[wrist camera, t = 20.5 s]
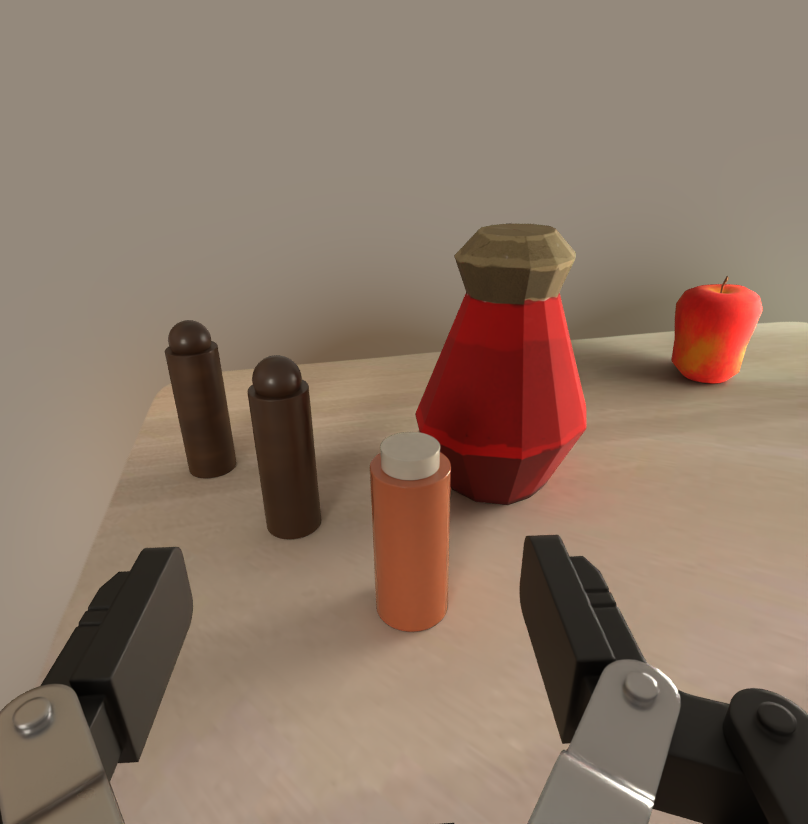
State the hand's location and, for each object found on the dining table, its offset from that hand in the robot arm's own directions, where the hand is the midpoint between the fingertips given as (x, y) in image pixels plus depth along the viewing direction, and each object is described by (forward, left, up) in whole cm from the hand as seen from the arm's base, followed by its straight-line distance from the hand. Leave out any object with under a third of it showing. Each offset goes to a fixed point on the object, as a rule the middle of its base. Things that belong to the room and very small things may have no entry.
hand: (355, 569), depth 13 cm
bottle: (+28, +15, -17) cm, 37 cm away
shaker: (+12, +10, -17) cm, 23 cm away
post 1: (+12, +34, -17) cm, 40 cm away
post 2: (+12, +22, -17) cm, 31 cm away
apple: (+62, +10, -17) cm, 66 cm away
